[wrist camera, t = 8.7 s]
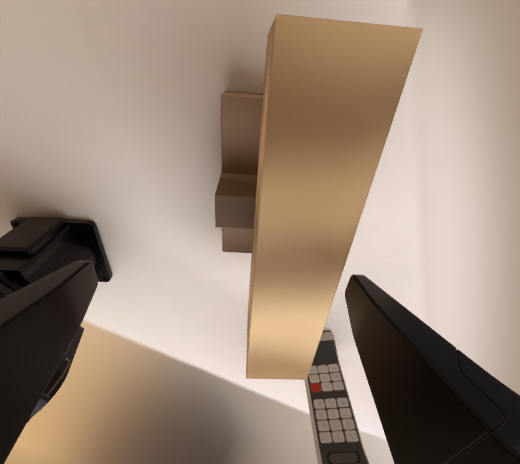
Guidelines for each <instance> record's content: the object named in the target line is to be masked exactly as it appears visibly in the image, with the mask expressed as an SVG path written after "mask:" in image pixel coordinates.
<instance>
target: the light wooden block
mask: <svg viewBox="0 0 520 464" xmlns="http://www.w3.org/2000/svg"><path fill="white" fill-rule="evenodd" d="M422 30H423V29H419V28H410V27H400V26H390V25H379V24H369V23H359V22H349V21H339V20H329V19H319V18H309V17H299V16H289V15H279V14H277V15H276V18H275V20H274V22H273V24H272V26H271V29H270V31H269V33H268V37H267V51H266V65H265V79H264V93H263V107H262V121H261V135H260V149H259V163H258V176H257V190H256V204H255V218H254V232H253V246H252V260H251V274H250V288H249V302H248V328H247V366H246V378H251V379H300V380H307V377H308V374H309V371H310V368H311V365H312V362H313V359H314V356H315V353H316V350H317V347H318V344H319V341H320V338H321V335H322V332H323V329H324V326H325V323H326V320H327V317H328V314H329V311H330V308H331V305H332V302H333V299H334V296H335V293H336V290H337V287H338V284H339V281H340V278H341V275H342V272H343V269H344V266H345V263H346V260H347V257H348V254H349V251H350V248H351V244H352V241H353V238H354V235H355V232H356V229H357V226H358V223H359V220H360V217H361V214H362V211H363V208H364V205H365V202H366V199H367V196H368V193H369V190H370V187H371V184H372V181H373V178H374V175H375V172H376V169H377V166H378V163H379V160H380V157H381V154H382V151H383V148H384V145H385V142H386V139H387V136H388V133H389V130H390V127H391V124H392V121H393V118H394V115H395V112H396V109H397V106H398V103H399V100H400V97H401V94H402V91H403V87H404V84H405V81H406V78H407V75H408V72H409V69H410V66H411V63H412V60H413V57H414V54H415V51H416V48H417V45H418V42H419V39H420V36H421V33H422Z"/></svg>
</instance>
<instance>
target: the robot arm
mask: <svg viewBox="0 0 520 464" xmlns="http://www.w3.org/2000/svg"><path fill="white" fill-rule="evenodd" d="M11 226H12V227H13V230H11V231H10V232H8V233H7V234H5V235H4V236H2V237H1V238H0V464H4V463H5V460H6V459H7V457H8V455H9V454H10V452H11V450H12V448H13V446H14V444H15V443H16V441H17V439H18V437H19V436H20V434H21V432H22V430H23V428H24V427H25V425H26V423H27V422H28V421H29V420H30V419H31V418H32V417H33V416H34V415H35V414H36V413H37V412H38V411H39V410H41V409H42V408H43V407H44V406H45V405H46V404H47V403H48V402H49V401H50V400H51V398H52V397H53V396H54V395H55V394H56V392H57V391H58V390H59V388H60V387H61V385H62V383H63V382H64V380H65V378H66V376H67V374H68V372H69V369H70V366H71V363H72V361H73V358H74V355H75V353H76V350H77V347H78V344H79V342H80V339H81V336H82V334H83V331H84V328H83V327H81V326H80V325H81V323H82V321H83V319H84V316H85V314H86V312H87V309H88V307H89V304H90V302H91V300H92V297H93V295H94V293H95V290H96V288H97V285H98V282H108V281H110V279H111V278H112V273H111V270H110V267H109V264H108V261H107V258H106V255H105V252H104V248H103V245H102V242H101V239H100V236H99V233H98V230H97V227H96V225H95V224H94V223H93V222H91V221H79V220H64V219H59V218H39V217H30V218H21V217H18V218H15V219H14V220H12V221H11ZM87 226H89V227H90V228H91V229H90V228H88V227H87ZM345 298H346V303H347V308H348V313H349V318H350V323H351V328H352V332H353V336H354V340H355V343H356V346H357V349H358V352H359V355H360V359H361V362H362V365H363V368H364V371H365V374H366V377H367V380H368V383H369V386H370V389H371V393H372V396H373V399H374V402H375V405H376V408H377V411H378V414H379V417H380V420H381V423H382V426H383V430H384V433H385V436H386V439H387V442H388V445H389V448H390V451H391V454H392V457H393V460H394V464H520V395H518V394H517V393H515V392H514V391H512V390H511V389H510V388H508V387H507V386H505V385H504V384H503V383H501V382H500V381H499V380H497V379H496V378H494V377H493V376H492V375H490V374H489V373H488V372H486V371H485V370H484V369H483V368H481V367H480V366H479V365H477V364H476V363H475V362H473V361H472V360H471V359H470V358H468V357H467V356H466V355H465V354H463V353H462V352H461V351H459V350H456V348H455V347H454V346H453V345H452V344H450V343H449V342H448V341H446V340H445V339H444V338H443V337H442V336H440V335H439V334H438V333H437V332H435V331H434V330H433V329H431V328H430V327H429V326H428V325H426V324H425V323H424V322H423V321H421V320H420V319H419V318H418V317H416V316H415V315H414V314H412V313H411V312H410V311H409V310H407V309H406V308H405V307H404V306H402V305H401V304H400V303H399V302H397V301H396V300H395V299H394V298H392V297H391V296H390V295H388V294H387V293H386V292H385V291H383V290H382V289H381V288H380V287H378V286H377V285H376V284H375V283H373V282H372V281H371V280H369V279H368V278H367V277H366V276H364V275H352V276H351V277H350V280H349V282H348V285H347V288H346V291H345Z"/></svg>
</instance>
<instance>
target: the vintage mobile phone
mask: <svg viewBox="0 0 520 464" xmlns="http://www.w3.org/2000/svg"><path fill="white" fill-rule="evenodd" d="M305 385H306V391H307V398H308V404H309V410H310V416H311V422H312V429H313V435H314V441H315V448H316V454H317V461H318V464H369V462H368V459H367V456H366V454H365V451H364V448H363V445H362V441H361V438H360V434H359V430H358V427H357V423H356V420H355V416H354V413H353V409H352V406H351V402H350V399H349V395H348V392H347V388H346V385H345V381H344V378H343V374H342V371H341V367H340V364H339V360H338V355H337V350H336V345H335V340H334V336H333V333H332V332H322V335H321V338H320V341H319V344H318V347H317V350H316V353H315V356H314V359H313V362H312V365H311V368H310V371H309V374H308V377H307V380H305Z"/></svg>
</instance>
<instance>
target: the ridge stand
mask: <svg viewBox="0 0 520 464" xmlns="http://www.w3.org/2000/svg"><path fill="white" fill-rule="evenodd" d="M262 107H263V94H254V93H242V92H230V91H225V92H224V93H223V94H222V95H221V125H222V174H221V177H220V181H219V184H218V187H217V191H216V194H215V217H216V227H222V251H223V252H241V253H252V246H253V232H254V218H255V204H256V190H257V176H258V163H259V149H260V135H261V121H262Z"/></svg>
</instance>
